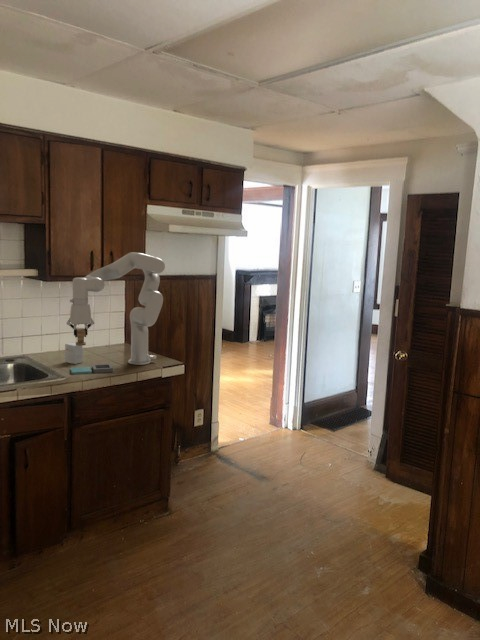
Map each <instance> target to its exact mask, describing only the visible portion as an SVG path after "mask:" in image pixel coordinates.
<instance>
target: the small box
mask: <svg viewBox="0 0 480 640" xmlns="http://www.w3.org/2000/svg"><path fill="white" fill-rule="evenodd" d="M64 346H65V347H64V356H65V363H69V364H72V365H73V364H74V365H78V364H82V363H83V361H84V359H83V358H84V357H83V354H84V353H83V350H84V348H83V345H82V346H78V345H76V342H68V343H65V345H64Z"/></svg>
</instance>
